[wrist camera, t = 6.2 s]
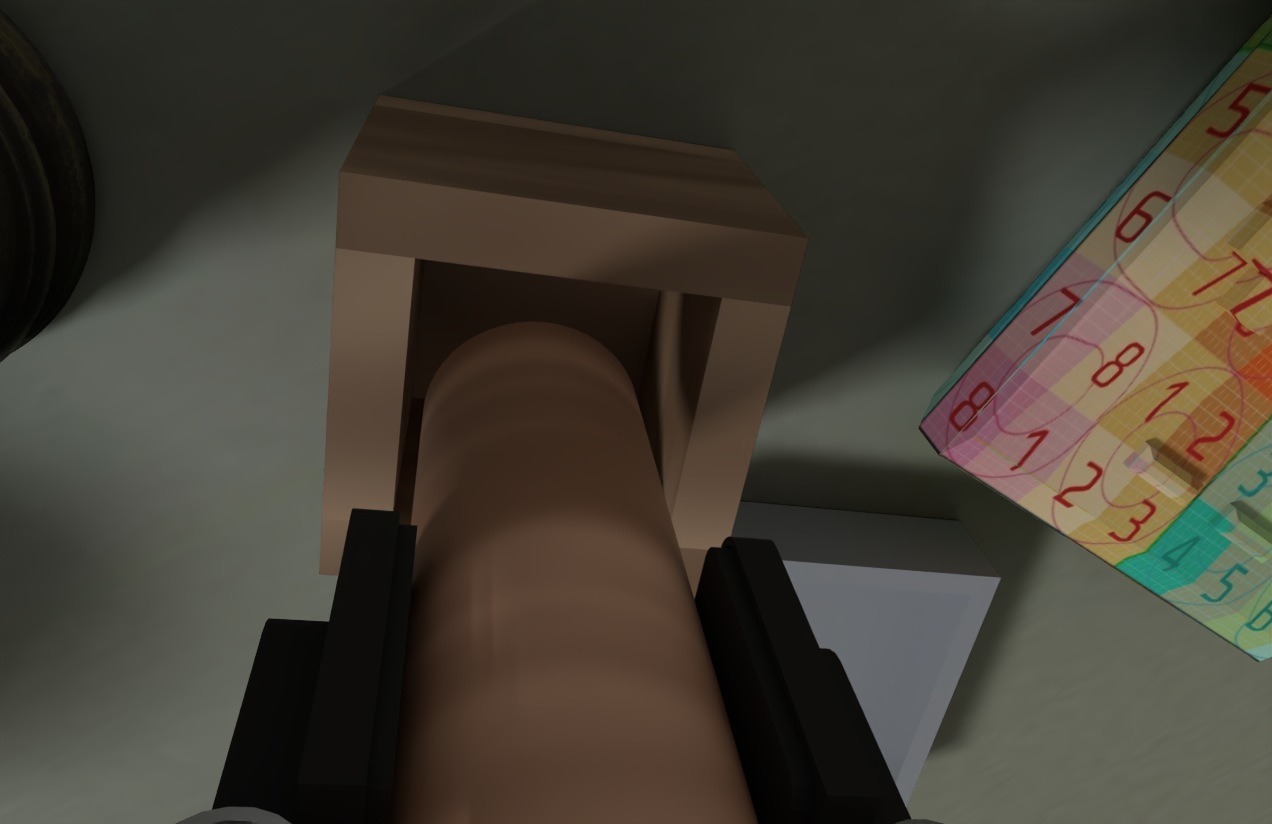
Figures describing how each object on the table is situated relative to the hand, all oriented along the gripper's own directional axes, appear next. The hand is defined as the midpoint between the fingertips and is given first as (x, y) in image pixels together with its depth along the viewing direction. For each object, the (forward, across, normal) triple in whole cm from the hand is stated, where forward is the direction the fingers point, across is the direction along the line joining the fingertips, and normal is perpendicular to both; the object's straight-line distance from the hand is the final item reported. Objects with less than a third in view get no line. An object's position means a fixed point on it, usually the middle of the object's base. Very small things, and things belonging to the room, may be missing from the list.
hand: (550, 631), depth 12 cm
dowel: (+5, 0, 0) cm, 5 cm away
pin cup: (+12, 0, 0) cm, 12 cm away
